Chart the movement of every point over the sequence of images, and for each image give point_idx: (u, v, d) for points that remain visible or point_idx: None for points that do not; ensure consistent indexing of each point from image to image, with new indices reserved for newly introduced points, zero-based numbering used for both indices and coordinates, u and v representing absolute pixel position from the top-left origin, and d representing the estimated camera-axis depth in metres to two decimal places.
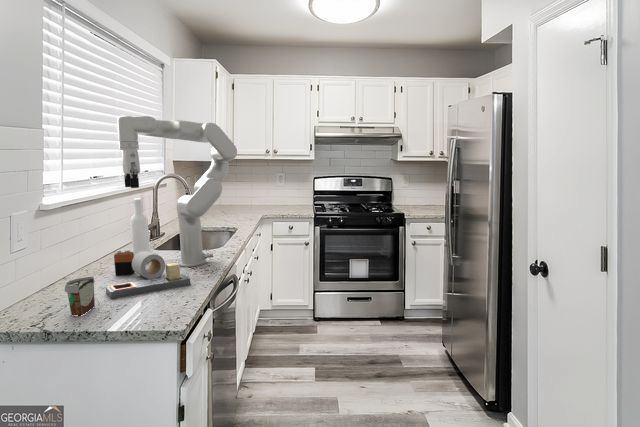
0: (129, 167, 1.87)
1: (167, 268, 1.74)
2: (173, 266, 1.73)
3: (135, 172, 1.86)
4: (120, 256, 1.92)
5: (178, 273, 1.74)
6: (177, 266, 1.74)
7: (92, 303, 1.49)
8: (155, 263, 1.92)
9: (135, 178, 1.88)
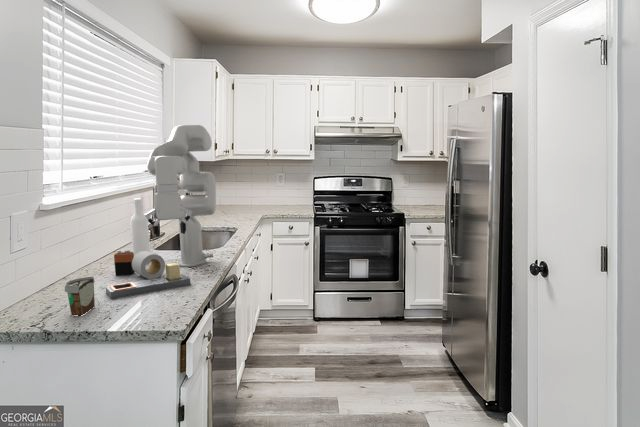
0: (183, 211, 1.74)
1: (167, 268, 1.74)
2: (173, 266, 1.73)
3: None
4: (120, 256, 1.92)
5: (178, 273, 1.74)
6: (177, 266, 1.74)
7: (92, 303, 1.49)
8: (155, 263, 1.92)
9: None
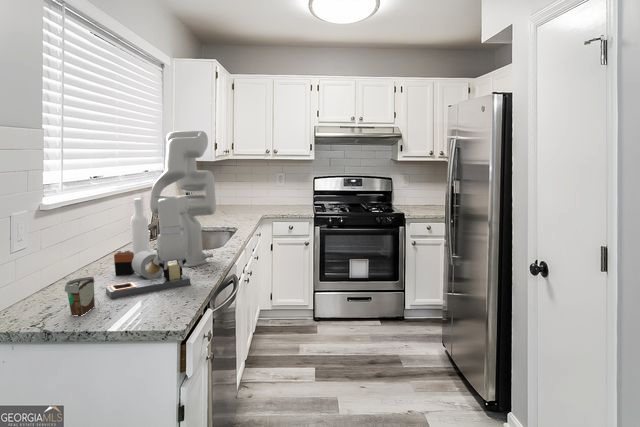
0: None
1: None
2: (173, 266, 1.73)
3: None
4: (120, 256, 1.92)
5: (178, 273, 1.74)
6: (177, 266, 1.74)
7: (92, 303, 1.49)
8: None
9: None
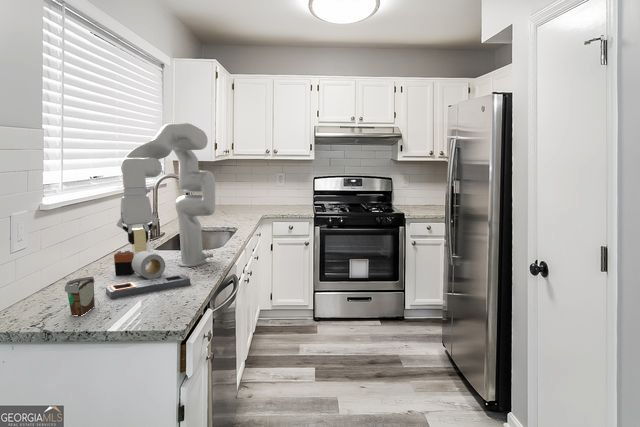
0: None
1: (132, 232, 1.65)
2: (138, 230, 1.65)
3: None
4: (120, 256, 1.92)
5: (144, 238, 1.66)
6: (143, 230, 1.65)
7: (92, 303, 1.49)
8: (155, 263, 1.92)
9: None
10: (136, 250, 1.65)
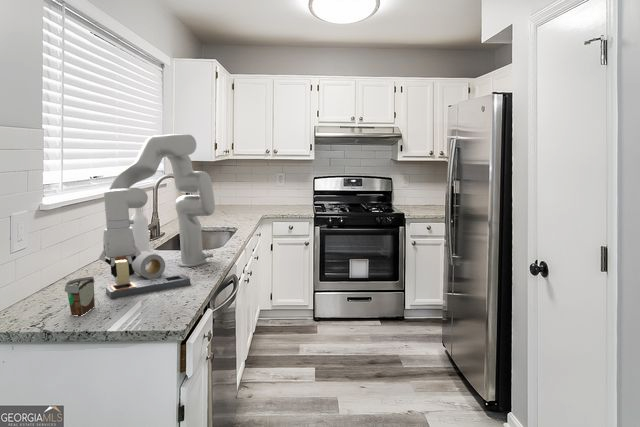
0: None
1: (115, 265, 1.63)
2: (121, 263, 1.62)
3: None
4: None
5: (127, 270, 1.64)
6: (126, 263, 1.63)
7: (92, 303, 1.49)
8: (155, 263, 1.92)
9: None
10: (119, 283, 1.62)
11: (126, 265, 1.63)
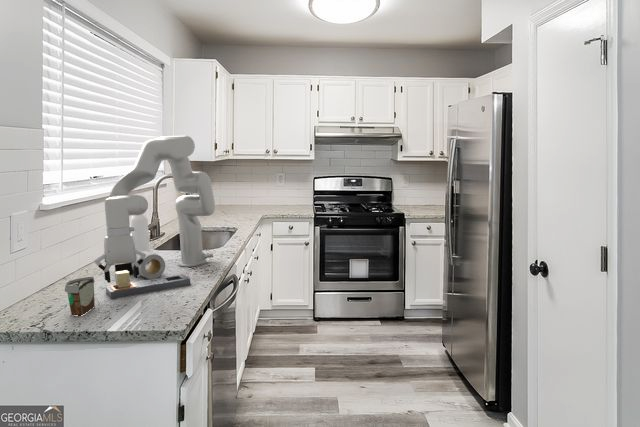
0: None
1: (116, 276, 1.64)
2: (122, 274, 1.63)
3: None
4: None
5: (128, 281, 1.64)
6: (127, 274, 1.64)
7: (92, 303, 1.49)
8: (155, 263, 1.92)
9: None
10: None
11: (127, 276, 1.64)
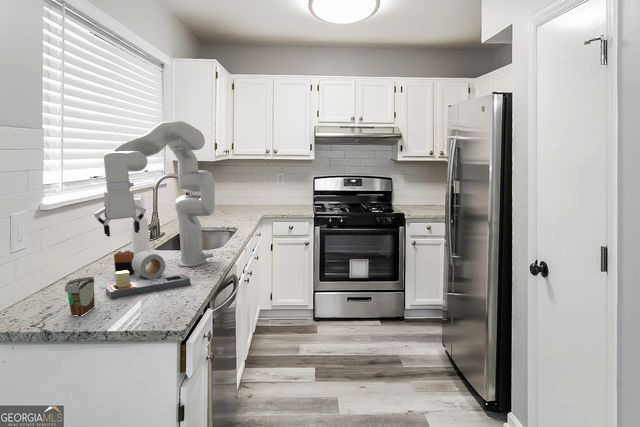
0: (135, 210, 1.67)
1: (116, 276, 1.64)
2: (122, 274, 1.63)
3: None
4: (120, 256, 1.92)
5: (128, 281, 1.64)
6: (127, 274, 1.64)
7: (92, 303, 1.49)
8: (155, 263, 1.92)
9: None
10: None
11: (127, 276, 1.64)
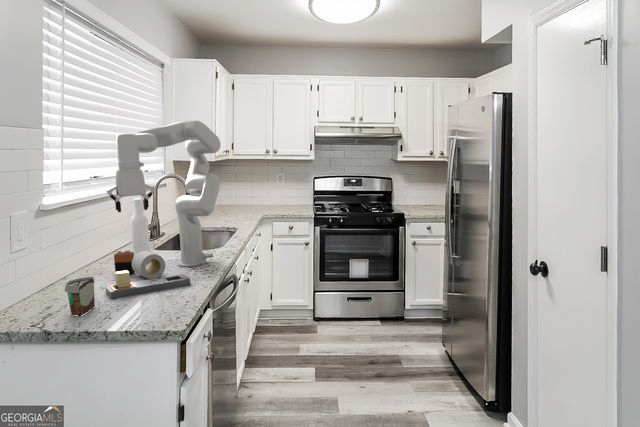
0: (145, 188, 1.78)
1: (116, 276, 1.64)
2: (122, 274, 1.63)
3: None
4: (120, 256, 1.92)
5: (128, 281, 1.64)
6: (127, 274, 1.64)
7: (92, 303, 1.49)
8: (155, 263, 1.92)
9: None
10: None
11: (127, 276, 1.64)
